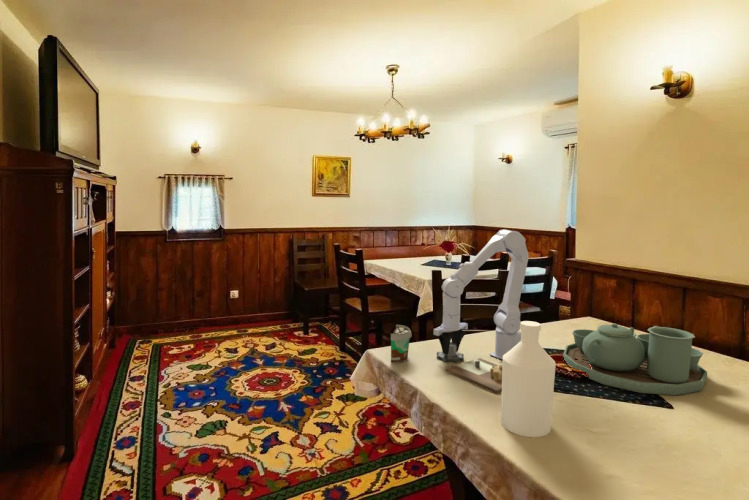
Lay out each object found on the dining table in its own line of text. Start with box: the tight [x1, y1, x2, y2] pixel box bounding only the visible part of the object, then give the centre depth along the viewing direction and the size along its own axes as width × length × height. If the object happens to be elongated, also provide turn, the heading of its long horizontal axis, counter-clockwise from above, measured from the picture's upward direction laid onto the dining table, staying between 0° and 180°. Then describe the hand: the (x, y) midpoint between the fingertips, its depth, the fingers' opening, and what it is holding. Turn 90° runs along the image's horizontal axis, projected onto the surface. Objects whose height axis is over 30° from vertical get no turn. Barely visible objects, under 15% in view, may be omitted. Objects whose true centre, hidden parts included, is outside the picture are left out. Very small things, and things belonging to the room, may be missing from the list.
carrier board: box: [445, 357, 503, 395], centre depth 135 cm, size 16×20×4 cm
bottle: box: [500, 320, 557, 438], centre depth 104 cm, size 12×12×25 cm
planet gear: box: [436, 341, 465, 364], centre depth 150 cm, size 9×9×5 cm
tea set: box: [562, 323, 708, 396], centre depth 141 cm, size 40×40×16 cm
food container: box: [390, 324, 412, 363], centre depth 149 cm, size 12×6×10 cm, turn 168°
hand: (450, 352), depth 150 cm, fingers closed on planet gear, 4 cm apart
